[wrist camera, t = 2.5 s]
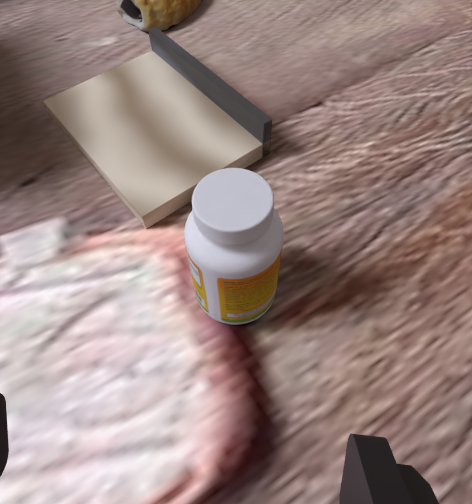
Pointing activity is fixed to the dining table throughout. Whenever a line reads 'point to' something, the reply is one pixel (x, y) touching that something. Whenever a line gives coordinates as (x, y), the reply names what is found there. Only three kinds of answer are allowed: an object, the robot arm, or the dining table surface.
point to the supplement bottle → (234, 245)
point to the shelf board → (160, 127)
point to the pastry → (155, 12)
